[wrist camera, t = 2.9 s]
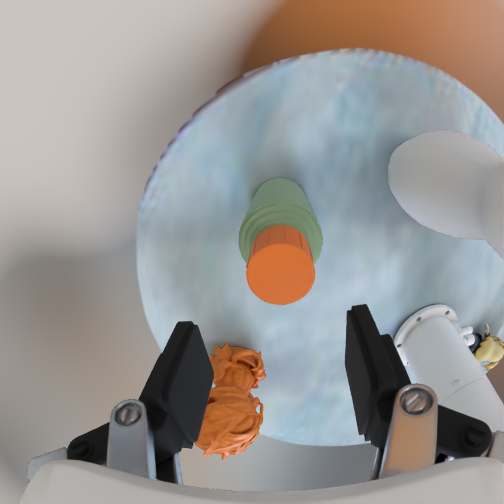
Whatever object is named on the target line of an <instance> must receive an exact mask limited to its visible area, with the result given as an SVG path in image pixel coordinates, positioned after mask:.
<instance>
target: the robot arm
mask: <svg viewBox="0 0 504 504" xmlns="http://www.w3.org/2000/svg"><path fill="white" fill-rule="evenodd" d="M472 332H473V327H472V326H467V327H465V328H461V327H460V326H459V325H458V318H457V315H456V313H455V312H454V311H453V310H452V309H451V308H450V307H449V306H447V305H443V304H435V305H431V306H428V307H425V308H423V309H421V310H419V311H417V312H416V313H415V314H413V315H412V316H411V317H409V318H408V319H407V320H406V321H405V322H404V324H403V325H402V326H401V327H400V329H399V330H398V332H397V334H396V336H395V338H394V342H393V340H392V338H391V336H390V335H389V334H385V335H380V334H379V331H378V329H377V327H376V324H375V322H374V320H373V317H372V315H371V313H370V311H369V308H368V306H367V304H363V305H356V306H352V309H351V310H348V311H347V325H346V349H345V368H346V372H347V377H348V381H349V386H350V391H351V396H352V400H353V405H354V411H355V416H356V421H357V427H358V432H359V435H363V434H364V437H365V441H370V440H371V444H372V445H374V446H376V447H378V448H377V452H376V457H375V461H374V465H373V469H372V473H371V476H370V480H369V481H368V482H364V483H358V484H353V485H346V486H340V487H333V488H324V489H315V490H301V491H281V492H252V491H230V490H218V489H208V488H200V487H192V486H186V485H183V481H182V474H181V468H180V461H179V452H180V451H181V449H182V448H190V449H192V446H193V443H194V442H197V441H198V438H199V434H200V430H201V426H202V422H203V418H204V414H205V410H206V407H207V403H208V399H209V395H210V391H211V387H212V383H213V379H214V370H213V367H212V365H211V362H210V359H209V356H208V354H207V351H206V348H205V345H204V342H203V339H202V336H201V333H200V330H199V327H198V325H194V323H193V322H192V321H183V322H178V323H177V324H176V326H175V328H174V330H173V332H172V334H171V336H170V338H169V340H168V343H167V345H166V347H165V349H164V351H163V353H161V354H160V356H159V358H158V359H157V362H156V364H155V366H154V368H153V370H152V372H151V374H150V376H149V378H148V380H147V382H146V385H145V387H144V389H143V391H142V393H141V395H140V397H139V400H136V399H128V400H124V401H122V402H120V403H119V404H117V405H116V406H115V407H114V409H113V410H112V412H111V416H110V422H108V423H106V424H104V425H102V426H100V427H98V428H96V429H94V430H92V431H89V432H87V433H85V434H83V435H81V436H78V437H77V438H75V439H74V440H72V441H71V443H70V444H69V446H68V449H67V448H65V447H63V448H60V449H57V450H55V451H52V452H49V453H46V454H43V455H40V456H37V457H34V458H33V459H31V460H30V461H29V463H28V465H27V475H28V481H29V485H28V487H27V489H26V490H25V492H24V495H23V497H22V499H21V501H20V503H19V504H504V405H503V403H502V401H501V400H500V398H499V397H498V395H497V393H496V391H495V390H494V388H493V386H492V385H491V383H490V381H489V380H488V378H487V376H486V375H485V373H484V371H483V370H482V368H481V366H480V365H479V363H478V362H477V360H476V358H475V357H474V355H473V354H472V352H471V351H470V349H469V348H468V346H469V345H472V344H474V342H475V337H474V335H473V334H471V333H472ZM467 334H470V335H467ZM464 335H467V336H464ZM463 336H464V337H463ZM404 365H406V366H410V368H411V371H412V373H413V375H414V378H415V380H416V384H411V381H410V379H409V377H408V374H407V372H406V369H405V367H404Z"/></svg>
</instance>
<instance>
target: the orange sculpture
mask: <svg viewBox="0 0 504 504" xmlns="http://www.w3.org/2000/svg"><path fill="white" fill-rule="evenodd" d="M224 345H225V346H224V347H223V348H221V349H220V348H219V347H215V351H214V352H215V357H214V356H213V355H212V354H210V362H211V365H212V367H213V370H214V379H213V382H214V384H215V386H216V387H215V388H211V391H210V395H209V399H208V403H207V407H206V410H205V414H204V418H203V422H202V426H201V430H200V434H199V438H198V441H197V442H194V443H195V445H197V446H198V447H199V448H201V449H202V450H204V451H205V452H204V456H208V455H212V454H222V460H224V459H226V458H227V457H228V455H230V454H232V455H236V454H237V453H240V452H243V451H244V450H245V449H246V448H247V446H248V445H250V444H252V442H253V441H254V440H255V438H256V437H257V436H258V434H259V428H260V425H261V424H262V422H263V404H262V403H260V400H259V398H257V397H256V398H253V396H252V395H251V393H250V391H251V390H252V389H253V390H254V389H255V388H258V386H257V385H258V382H259V381H260V380H262V379H264V378H265V377H266V374H265V372H264V371H265V370H264V369H263V367H264V365H263V361H262V360H261V351H260V352H259V353H258V354H257V353H256V352H255V351H254V350H251V349H248V350H247V349H245V348H241V347H229V346H230V345H229V344H224ZM259 404H260V414H258V413H257V412H256V407H257V406H258V405H259Z"/></svg>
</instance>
